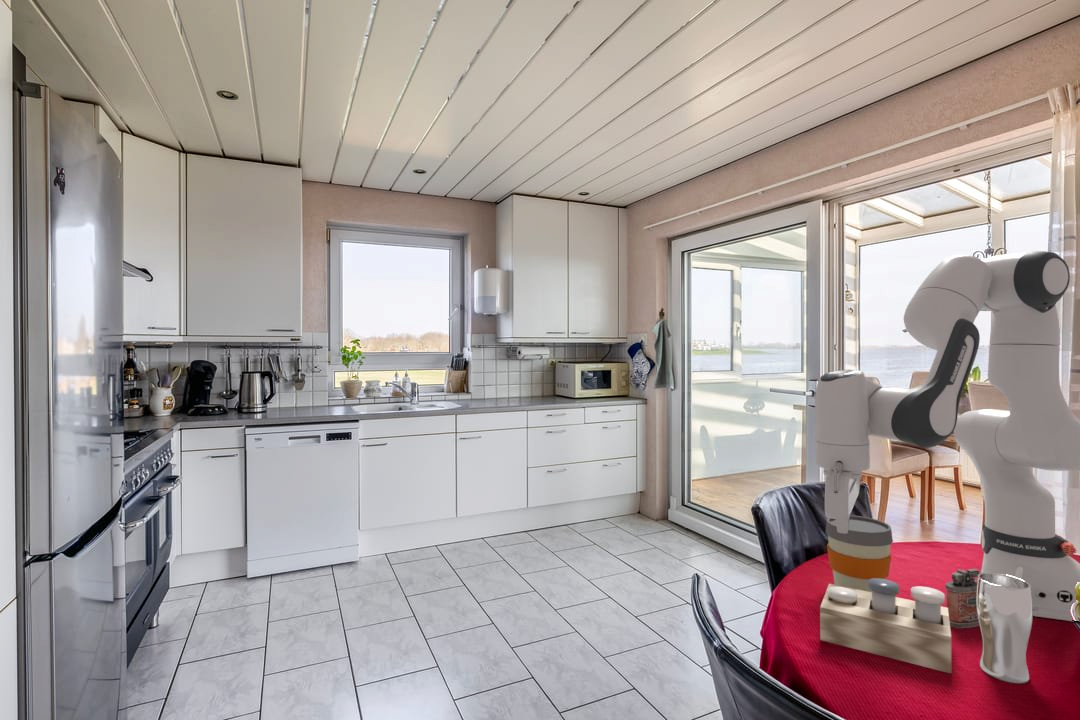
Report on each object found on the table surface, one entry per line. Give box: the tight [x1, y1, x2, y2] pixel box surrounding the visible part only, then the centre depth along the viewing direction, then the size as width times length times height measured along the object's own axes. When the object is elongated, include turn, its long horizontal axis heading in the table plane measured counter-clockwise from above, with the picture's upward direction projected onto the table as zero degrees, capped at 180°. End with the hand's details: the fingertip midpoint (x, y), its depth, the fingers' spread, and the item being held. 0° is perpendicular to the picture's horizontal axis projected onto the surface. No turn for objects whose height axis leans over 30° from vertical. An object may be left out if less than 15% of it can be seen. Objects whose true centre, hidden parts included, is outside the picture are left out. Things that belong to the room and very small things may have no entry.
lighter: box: [944, 568, 981, 629], centre depth 104 cm, size 8×3×10 cm, turn 105°
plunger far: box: [828, 587, 857, 606], centre depth 102 cm, size 5×5×7 cm
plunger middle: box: [868, 578, 900, 615], centre depth 98 cm, size 5×5×7 cm
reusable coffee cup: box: [825, 514, 894, 592], centre depth 118 cm, size 13×13×15 cm
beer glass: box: [976, 572, 1034, 684], centre depth 88 cm, size 7×7×15 cm
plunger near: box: [910, 585, 946, 625], centre depth 95 cm, size 5×5×7 cm
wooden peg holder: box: [819, 583, 952, 674], centre depth 99 cm, size 19×12×6 cm, turn 55°
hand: (843, 531), depth 102 cm, fingers closed
